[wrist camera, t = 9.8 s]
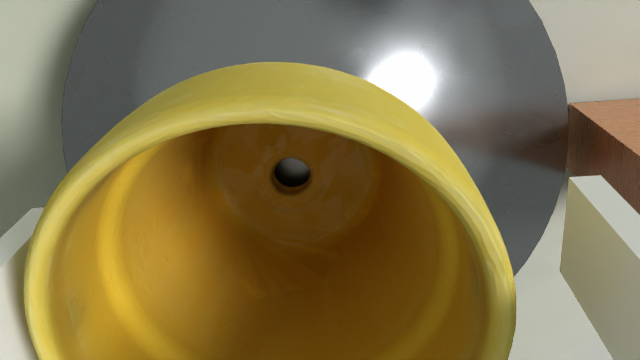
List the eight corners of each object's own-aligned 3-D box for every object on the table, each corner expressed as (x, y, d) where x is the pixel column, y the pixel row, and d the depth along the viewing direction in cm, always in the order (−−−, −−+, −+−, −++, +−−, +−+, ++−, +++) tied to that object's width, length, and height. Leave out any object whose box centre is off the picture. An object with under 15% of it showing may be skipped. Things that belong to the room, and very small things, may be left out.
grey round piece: (21, -86, 20) (-101, -90, 14) (738, -150, 18) (911, -182, 13) (131, 351, 27) (78, 462, 21) (656, 326, 25) (745, 436, 20)
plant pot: (330, 329, 24) (327, 568, 15) (102, 194, 22) (-59, 380, 13) (502, 130, 21) (631, 289, 12) (251, -52, 19) (171, -30, 10)
